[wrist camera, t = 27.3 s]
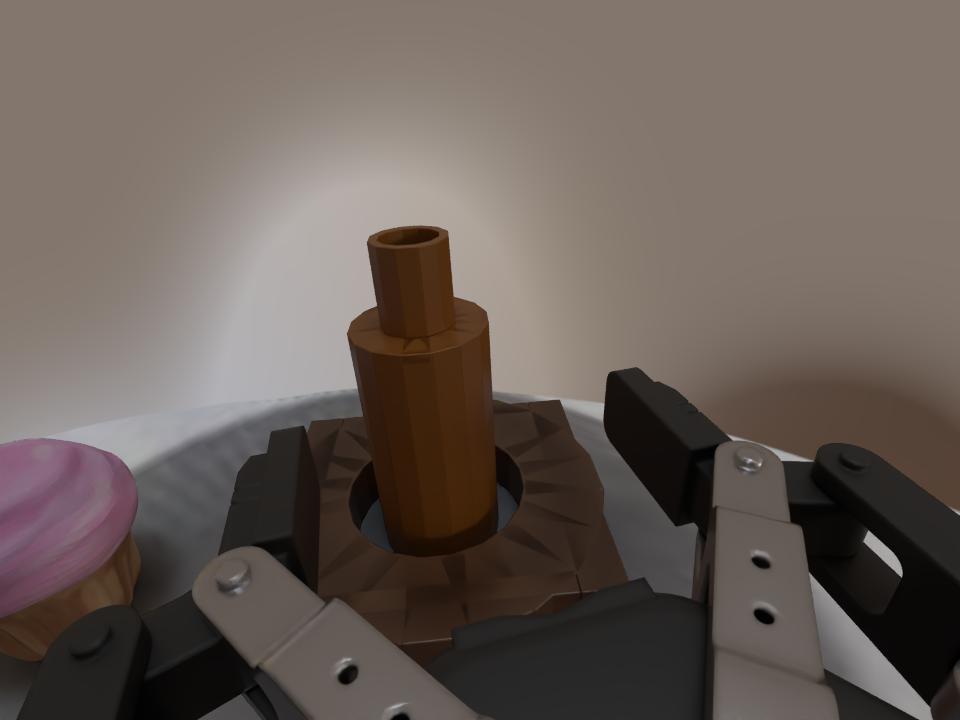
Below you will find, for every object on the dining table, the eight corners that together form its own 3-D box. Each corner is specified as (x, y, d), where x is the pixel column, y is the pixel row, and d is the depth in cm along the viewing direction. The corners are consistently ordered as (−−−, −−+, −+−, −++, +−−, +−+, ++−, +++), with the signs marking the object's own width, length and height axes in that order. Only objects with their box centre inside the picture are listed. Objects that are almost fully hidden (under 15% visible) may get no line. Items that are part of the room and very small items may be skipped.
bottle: (383, 576, 27) (316, 265, 19) (392, 490, 33) (344, 222, 24) (503, 564, 27) (489, 253, 19) (492, 482, 33) (478, 213, 25)
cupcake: (166, 667, 23) (70, 505, 19) (-71, 750, 21) (-253, 588, 16) (188, 529, 31) (123, 387, 26) (15, 578, 28) (-93, 431, 23)
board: (229, 706, 22) (207, 664, 20) (317, 442, 38) (308, 408, 36) (649, 662, 22) (657, 618, 21) (561, 421, 38) (562, 387, 37)
